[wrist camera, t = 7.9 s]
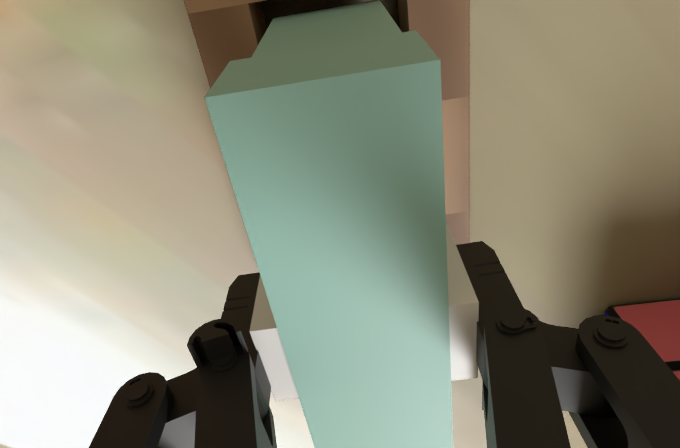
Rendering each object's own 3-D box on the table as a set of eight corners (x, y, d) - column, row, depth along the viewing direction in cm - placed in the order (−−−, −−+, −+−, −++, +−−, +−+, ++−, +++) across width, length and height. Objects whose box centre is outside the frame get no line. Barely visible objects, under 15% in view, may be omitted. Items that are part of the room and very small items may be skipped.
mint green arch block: (378, -16, 17) (440, 59, 8) (406, 279, 24) (455, 495, 15) (270, 3, 17) (204, 97, 8) (331, 289, 25) (334, 508, 15)
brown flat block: (449, -92, 18) (469, -95, 15) (456, 275, 27) (469, 311, 25) (193, -46, 18) (171, -41, 16) (289, 296, 28) (285, 334, 25)
